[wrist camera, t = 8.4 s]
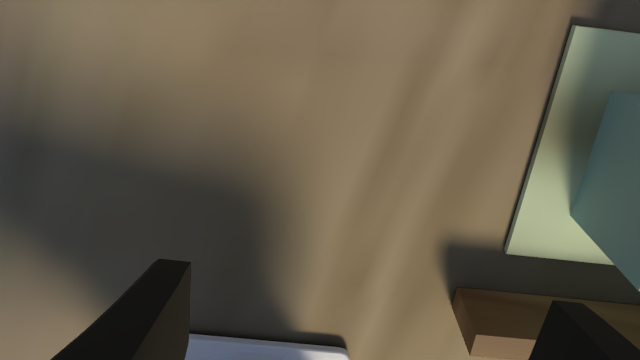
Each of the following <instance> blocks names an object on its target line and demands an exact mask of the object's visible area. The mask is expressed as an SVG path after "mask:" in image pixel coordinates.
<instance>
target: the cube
mask: <svg viewBox="0 0 640 360" xmlns="http://www.w3.org/2000/svg"><path fill="white" fill-rule="evenodd" d="M570 216H571V217H572V218H573V219H574V221H575V222H576V223H577V224H578V225H579V226H580V227H581V228H582V229H583V230H584V232H585V233H586V234H587V235H588V236H589V237H590V238H591V239H592V240H593V242H594V243H595V244H596V245H597V246H598V247H599V248H600V249H601V250H602V251H603V253H604V254H605V255H606V256H607V257H608V258H609V259H610V260H611V261H612V263H613V264H614V265H615V266H616V267H617V268H618V269H619V270H620V271H621V272H622V274H623V275H624V276H625V277H626V278H627V279H628V280H629V281H630V282H631V284H632V285H633V286H634V287H635V288H636V289H637V290H638V291H640V94H636V93H627V92H618V91H611V94H610V97H609V100H608V103H607V106H606V109H605V112H604V115H603V118H602V121H601V124H600V127H599V130H598V133H597V136H596V139H595V142H594V145H593V148H592V151H591V154H590V157H589V160H588V163H587V166H586V169H585V172H584V175H583V178H582V181H581V184H580V187H579V190H578V193H577V196H576V199H575V202H574V205H573V208H572V211H571V214H570Z"/></svg>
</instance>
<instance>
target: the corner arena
mask: <svg viewBox="0 0 640 360" xmlns="http://www.w3.org/2000/svg"><path fill="white" fill-rule="evenodd" d="M611 91H618V92H627V93H636V94H640V34H639V33H632V32H624V31H616V30H609V29H601V28H594V27H586V26H578V25H572V27H571V31H570V34H569V37H568V41H567V44H566V47H565V51H564V54H563V57H562V60H561V64H560V67H559V70H558V74H557V77H556V80H555V84H554V87H553V90H552V93H551V97H550V100H549V103H548V107H547V110H546V113H545V116H544V120H543V123H542V126H541V130H540V133H539V136H538V140H537V143H536V146H535V149H534V153H533V156H532V159H531V163H530V166H529V169H528V173H527V176H526V179H525V182H524V186H523V189H522V192H521V196H520V199H519V202H518V206H517V209H516V212H515V215H514V219H513V222H512V225H511V229H510V232H509V235H508V239H507V242H506V245H505V248H504V251H505V253H506V254H511V255H521V256H531V257H540V258H550V259H560V260H569V261H579V262H589V263H599V264H608V265H614V264H613V263H612V261H611V260H610V259H609V258H608V257H607V256H606V255H605V254H604V253H603V251H602V250H601V249H600V248H599V247H598V246H597V245H596V244H595V243H594V242H593V240H592V239H591V238H590V237H589V236H588V235H587V234H586V233H585V232H584V230H583V229H582V228H581V227H580V226H579V225H578V224H577V223H576V222H575V221H574V219H573V218H572V217H571V216H570V214H571V211H572V208H573V205H574V202H575V199H576V196H577V193H578V190H579V187H580V184H581V181H582V178H583V175H584V172H585V169H586V166H587V163H588V160H589V157H590V154H591V151H592V148H593V145H594V142H595V139H596V136H597V133H598V130H599V127H600V124H601V121H602V118H603V115H604V112H605V109H606V106H607V103H608V100H609V97H610V94H611ZM552 300H557V301H567V302H577V303H583V304H584V305H586V306H587V307H588V308H590V309H591V310H592V311H594V312H595V313H596V314H597V315H599V316H600V317H601V318H602V319H604V320H605V321H606V322H607V323H608V324H610V325H611V326H612V327H613V328H614V329H616V330H617V331H618V332H619V333H620V334H622V335H623V336H624V337H625V338H626V339H628V340H629V341H630V342H631V343H632V344H633V345H635V346H636V347H637V348H638V349H639V350H640V305H632V304H622V303H611V302H601V301H591V300H581V299H571V298H561V297H551V296H541V295H530V294H520V293H510V292H500V291H490V290H480V289H470V288H459V287H457V289H456V293H455V296H454V300H453V304H452V309H453V312H454V314H455V317H456V320H457V322H458V325H459V328H460V330H461V333H462V336H463V338H464V341H465V344H466V346H467V349H468V352H469V355H470V356H479V357H490V358H502V359H513V360H528V359H529V357H530V354H531V352H532V350H533V347H534V345H535V342H536V340H537V337H538V335H539V332H540V330H541V327H542V325H543V323H544V320H545V318H546V315H547V313H548V310H549V308H550V305H551V303H552Z"/></svg>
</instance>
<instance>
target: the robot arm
mask: <svg viewBox="0 0 640 360" xmlns="http://www.w3.org/2000/svg"><path fill="white" fill-rule="evenodd" d="M190 276H191V262H184V261H175V260H165V259H158V260H157V261H156V262H154V263H153V264H152V265H151V266H150V267H149V268H148V269H147V270H146V271H145V272H144V273H143V275H142V276H141V277H140V278H139V279H138V280H137V281H136V282H135V283H134V284H133V285H132V286H131V287H130V288H129V289H128V290H127V291H126V292H125V293H124V294H123V295H122V296H121V297H120V298H119V299H118V300H117V301H116V302H115V303H114V304H113V305H112V306H111V307H110V308H109V309H107V310H106V311H105V312H104V313H103V314H102V315H101V316H100V317H99V318H98V319H97V320H96V321H95V322H94V323H92V324H91V325H90V326H89V327H88V328H87V329H86V330H85V331H84V332H83V333H81V334H80V335H79V336H78V337H77V338H76V339H74V340H73V341H72V342H71V343H70V344H68V345H67V346H66V347H65V348H64V349H63V350H61V351H60V352H59V353H58V354H57V355H55V356H54V357H53V358H52V359H51V360H349V353H348V352H347V350H345V349H344V348H340V347H331V346H320V345H309V344H298V343H287V342H276V341H265V340H254V339H242V338H231V337H220V336H209V335H198V334H189V317H190ZM528 360H640V350H639V349H638V348H637V347H636V346H635V345H633V344H632V343H631V342H630V341H629V340H628V339H626V338H625V337H624V336H623V335H622V334H620V333H619V332H618V331H617V330H616V329H614V328H613V327H612V326H611V325H610V324H608V323H607V322H606V321H605V320H604V319H602V318H601V317H600V316H599V315H597V314H596V313H595V312H594V311H592V310H591V309H590V308H588V307H587V306H586V305H584V304H583V303H577V302H567V301H557V300H552V303H551V305H550V308H549V310H548V313H547V315H546V318H545V320H544V323H543V325H542V327H541V330H540V332H539V335H538V337H537V340H536V342H535V345H534V347H533V350H532V352H531V354H530V357H529V359H528Z"/></svg>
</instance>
